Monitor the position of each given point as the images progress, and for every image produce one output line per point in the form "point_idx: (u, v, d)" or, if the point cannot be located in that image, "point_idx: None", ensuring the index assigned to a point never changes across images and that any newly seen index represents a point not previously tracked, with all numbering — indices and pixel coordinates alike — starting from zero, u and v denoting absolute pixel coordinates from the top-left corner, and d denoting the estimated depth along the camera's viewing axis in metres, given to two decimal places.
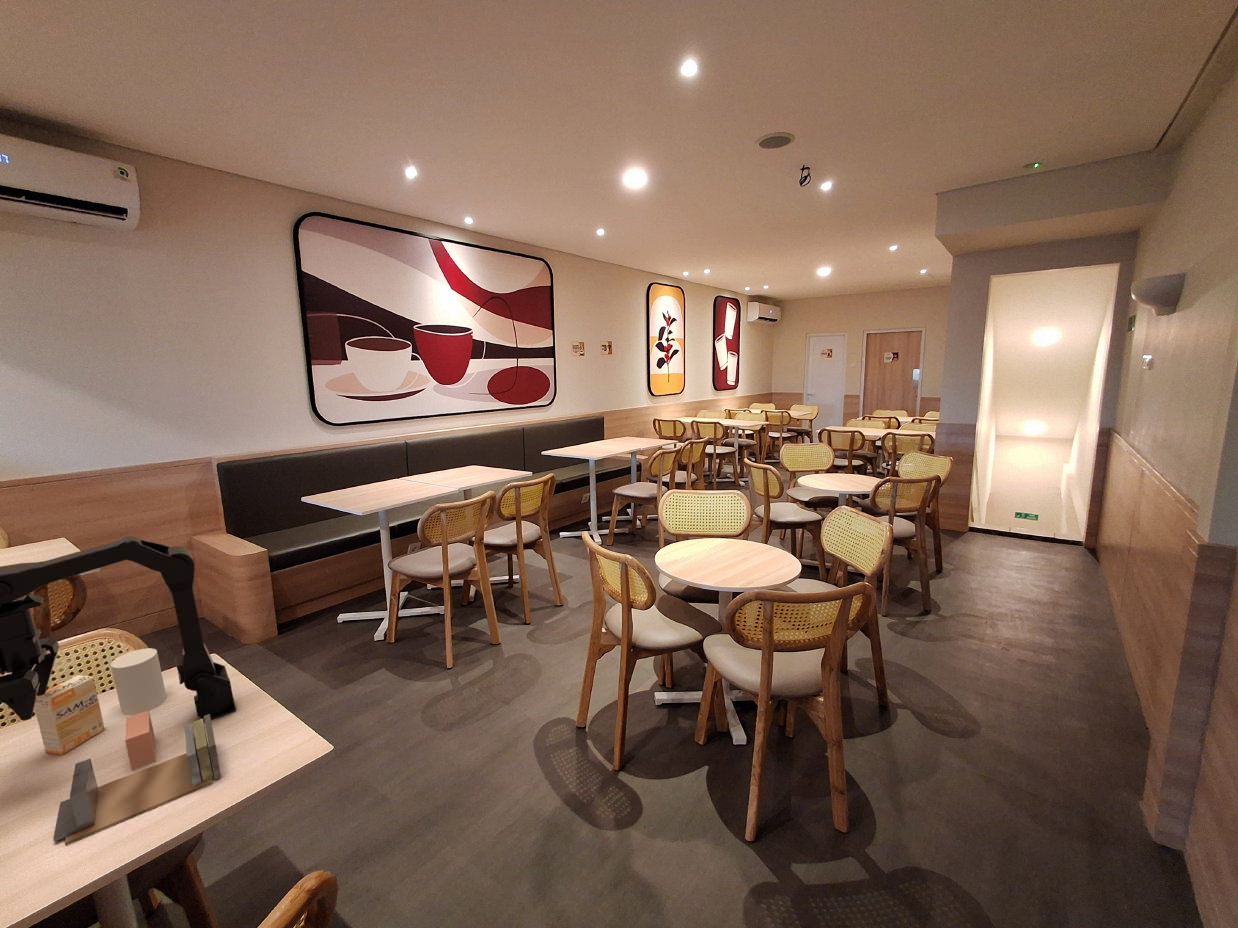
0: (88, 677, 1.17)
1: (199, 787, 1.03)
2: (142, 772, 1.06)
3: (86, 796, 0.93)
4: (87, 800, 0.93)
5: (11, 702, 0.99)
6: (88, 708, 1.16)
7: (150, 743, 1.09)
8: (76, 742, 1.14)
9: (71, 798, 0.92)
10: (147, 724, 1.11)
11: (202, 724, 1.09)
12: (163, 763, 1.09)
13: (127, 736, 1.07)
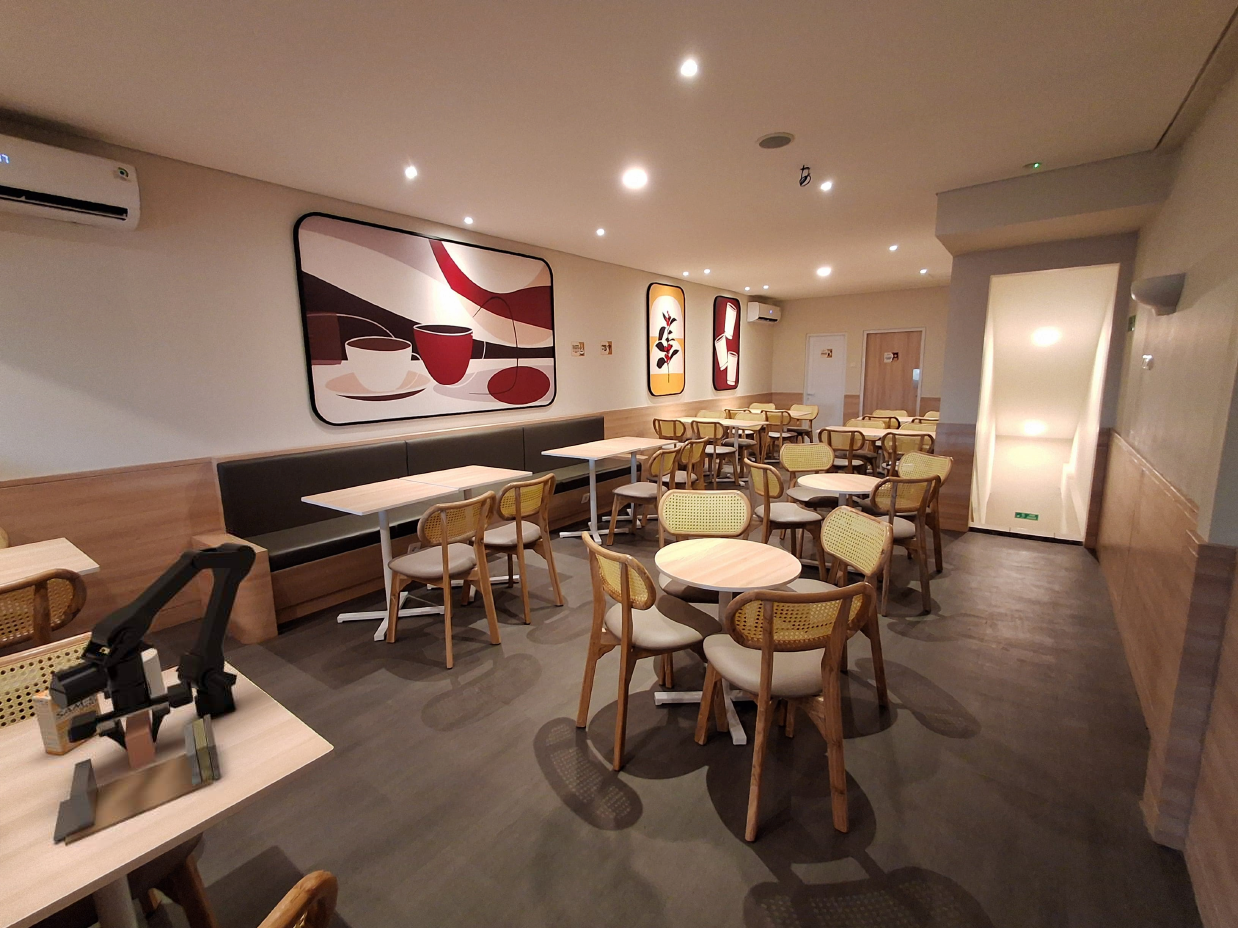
0: None
1: (199, 787, 1.03)
2: (142, 772, 1.06)
3: (86, 796, 0.93)
4: (87, 800, 0.93)
5: None
6: (88, 708, 1.16)
7: (150, 743, 1.09)
8: (76, 742, 1.14)
9: (71, 798, 0.92)
10: (147, 724, 1.11)
11: (202, 724, 1.09)
12: (163, 763, 1.09)
13: (127, 735, 1.07)
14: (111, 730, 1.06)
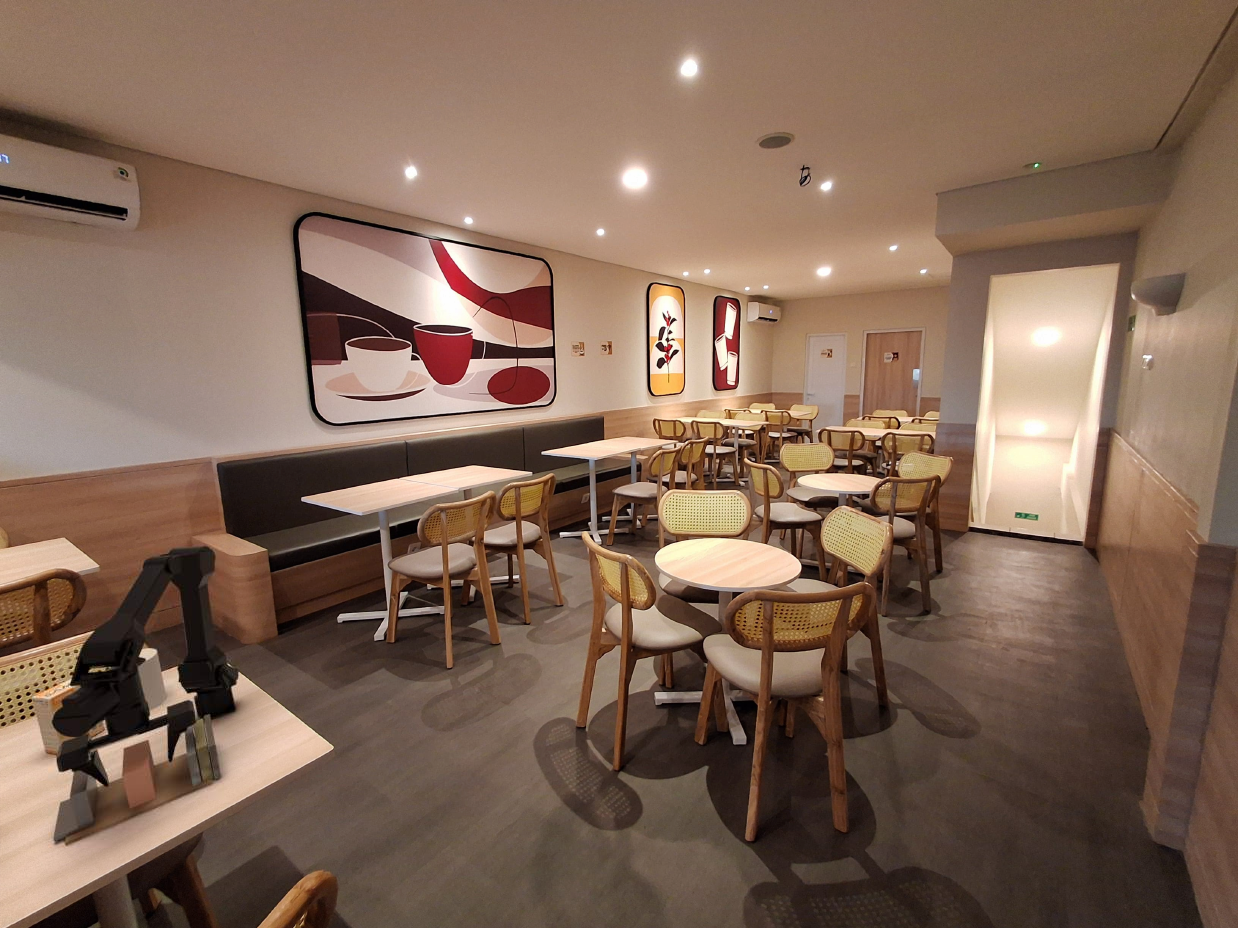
0: None
1: (199, 787, 1.03)
2: None
3: (86, 796, 0.93)
4: (87, 800, 0.93)
5: None
6: None
7: (150, 778, 0.99)
8: None
9: (71, 798, 0.92)
10: (146, 756, 1.01)
11: (202, 724, 1.09)
12: (163, 763, 1.09)
13: (124, 770, 0.97)
14: (86, 764, 0.95)
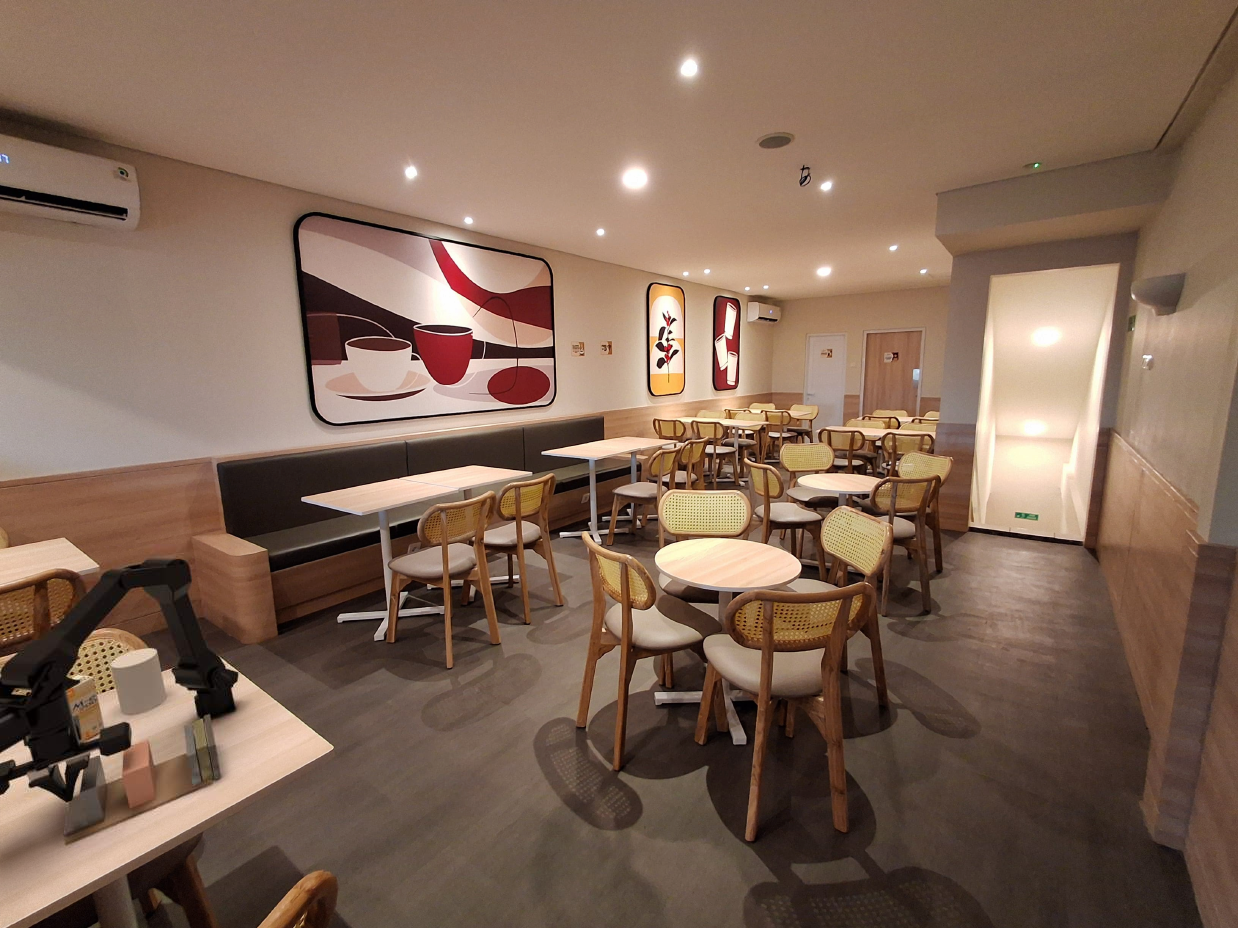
0: (88, 677, 1.17)
1: (199, 787, 1.03)
2: None
3: (96, 792, 0.94)
4: (97, 796, 0.94)
5: None
6: (88, 708, 1.16)
7: (150, 778, 0.99)
8: None
9: (81, 794, 0.93)
10: (146, 756, 1.01)
11: (202, 724, 1.09)
12: (163, 763, 1.09)
13: (124, 770, 0.97)
14: (44, 779, 0.91)
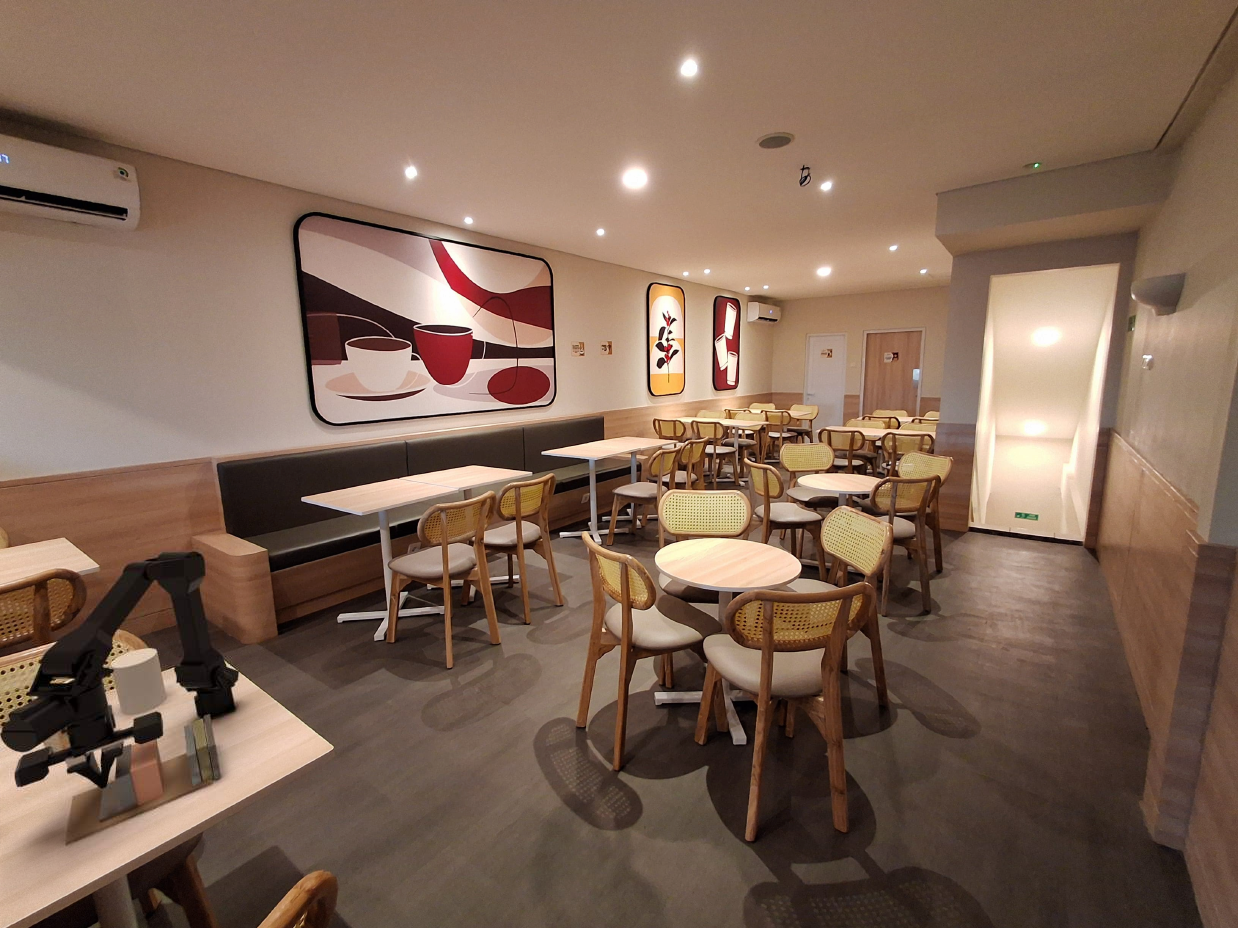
0: None
1: (199, 787, 1.03)
2: None
3: (130, 779, 0.97)
4: (131, 783, 0.97)
5: None
6: None
7: (158, 775, 1.00)
8: None
9: (116, 781, 0.96)
10: (154, 753, 1.02)
11: (202, 724, 1.09)
12: (163, 763, 1.09)
13: (133, 767, 0.98)
14: (81, 765, 0.94)
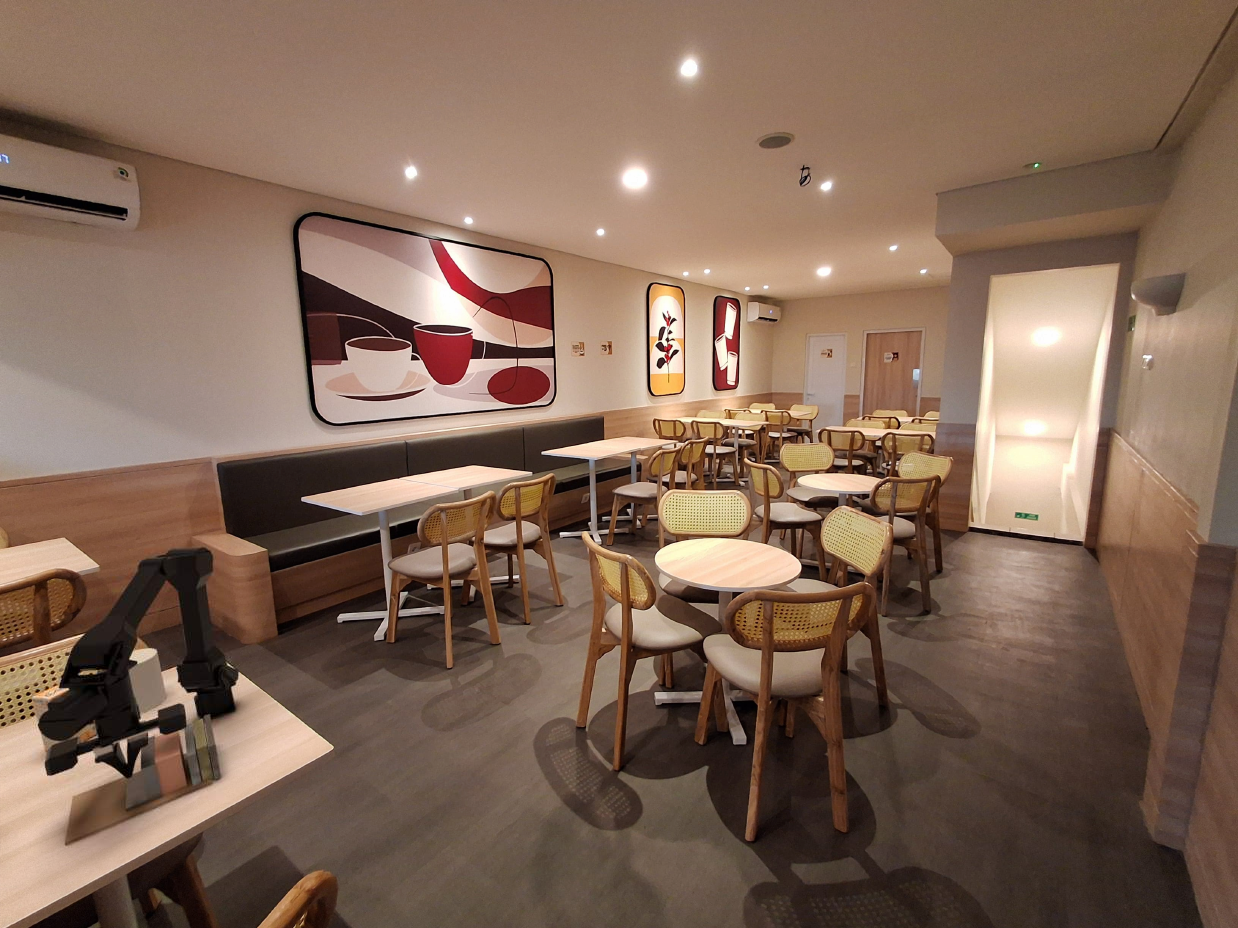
0: None
1: (199, 787, 1.03)
2: None
3: (155, 769, 0.99)
4: (156, 773, 0.99)
5: None
6: None
7: (181, 765, 1.02)
8: None
9: (142, 771, 0.98)
10: (177, 745, 1.04)
11: (202, 724, 1.09)
12: None
13: (157, 758, 1.00)
14: (108, 755, 0.96)
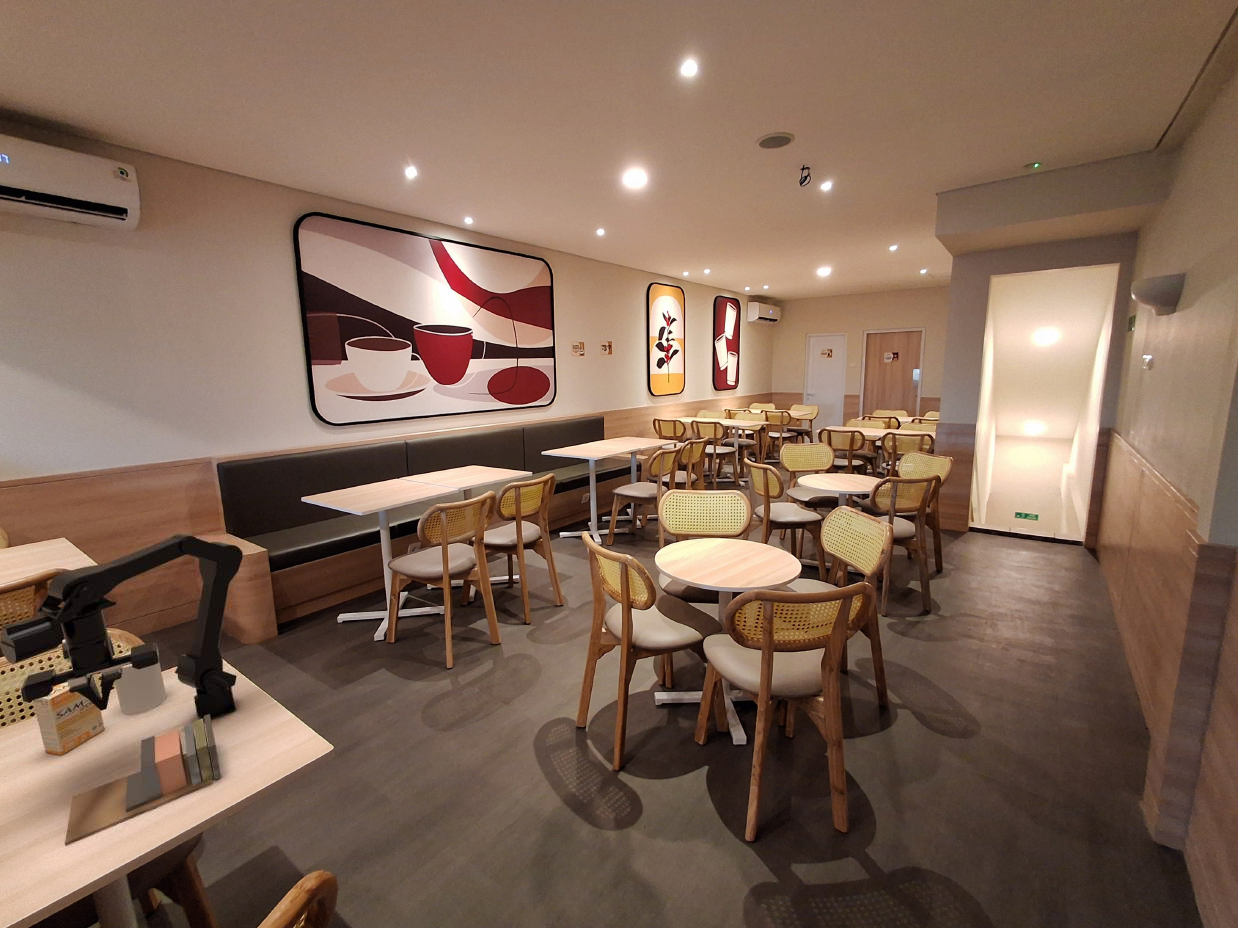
0: None
1: (199, 787, 1.03)
2: None
3: (155, 769, 0.99)
4: (156, 773, 0.99)
5: None
6: (88, 708, 1.16)
7: (181, 765, 1.02)
8: (76, 742, 1.14)
9: (142, 771, 0.98)
10: (177, 745, 1.04)
11: (202, 724, 1.09)
12: None
13: (157, 758, 1.00)
14: (82, 686, 1.02)
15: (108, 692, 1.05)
